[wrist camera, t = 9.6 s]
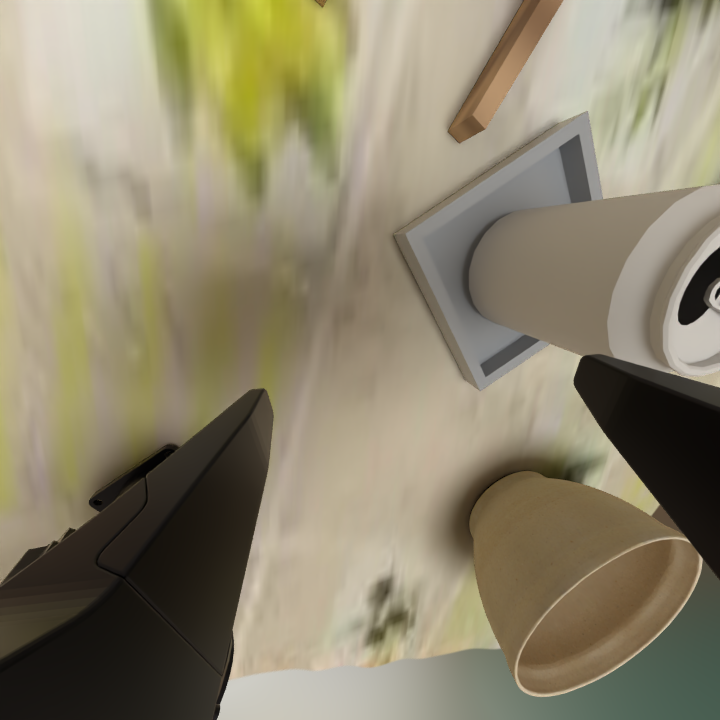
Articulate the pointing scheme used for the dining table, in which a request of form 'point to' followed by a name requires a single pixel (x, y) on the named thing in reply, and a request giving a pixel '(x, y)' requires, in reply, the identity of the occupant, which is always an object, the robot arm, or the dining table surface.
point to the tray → (473, 219)
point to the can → (610, 277)
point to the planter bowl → (574, 579)
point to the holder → (502, 66)
